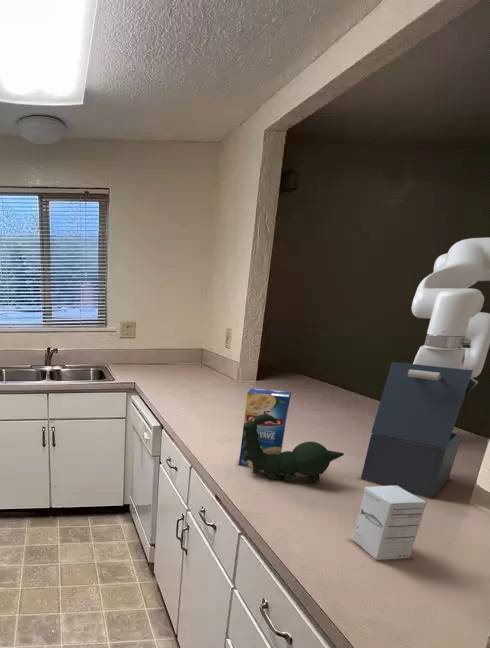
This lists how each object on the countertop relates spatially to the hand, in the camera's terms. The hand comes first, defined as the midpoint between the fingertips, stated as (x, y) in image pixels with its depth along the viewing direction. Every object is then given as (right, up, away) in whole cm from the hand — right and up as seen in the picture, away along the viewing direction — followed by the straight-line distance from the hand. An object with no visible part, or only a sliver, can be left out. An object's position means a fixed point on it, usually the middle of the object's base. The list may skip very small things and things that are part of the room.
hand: (425, 407), depth 114 cm
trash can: (-2, -19, +5) cm, 20 cm away
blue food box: (-38, -16, +16) cm, 44 cm away
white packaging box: (-30, -31, -27) cm, 51 cm away
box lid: (-7, 0, -7) cm, 9 cm away
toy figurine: (-34, -19, +6) cm, 40 cm away
